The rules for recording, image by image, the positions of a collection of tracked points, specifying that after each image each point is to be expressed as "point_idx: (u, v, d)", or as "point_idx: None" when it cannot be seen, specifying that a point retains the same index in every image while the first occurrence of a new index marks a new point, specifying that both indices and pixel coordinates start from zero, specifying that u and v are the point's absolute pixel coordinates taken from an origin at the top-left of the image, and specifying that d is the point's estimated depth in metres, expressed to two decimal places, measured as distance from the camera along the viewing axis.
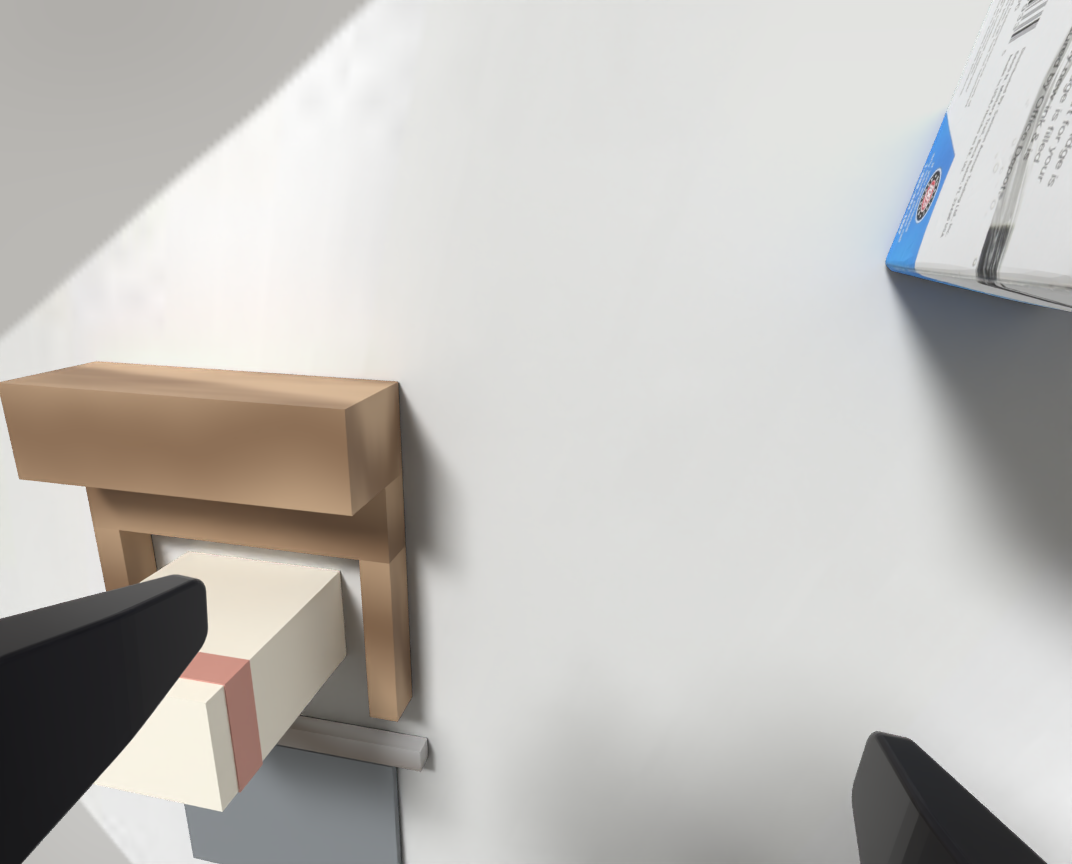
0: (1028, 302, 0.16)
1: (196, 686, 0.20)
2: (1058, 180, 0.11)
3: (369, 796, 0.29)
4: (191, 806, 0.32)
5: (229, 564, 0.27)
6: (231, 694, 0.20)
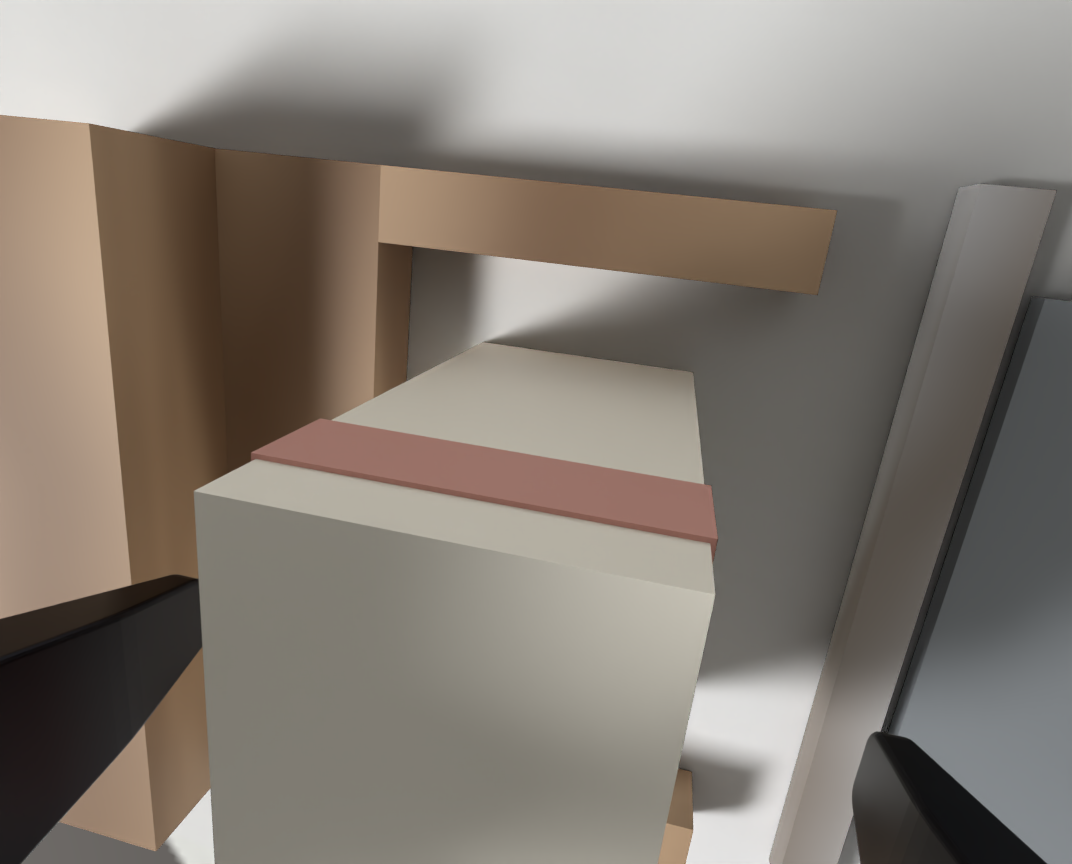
0: None
1: None
2: None
3: None
4: None
5: None
6: (328, 459, 0.06)
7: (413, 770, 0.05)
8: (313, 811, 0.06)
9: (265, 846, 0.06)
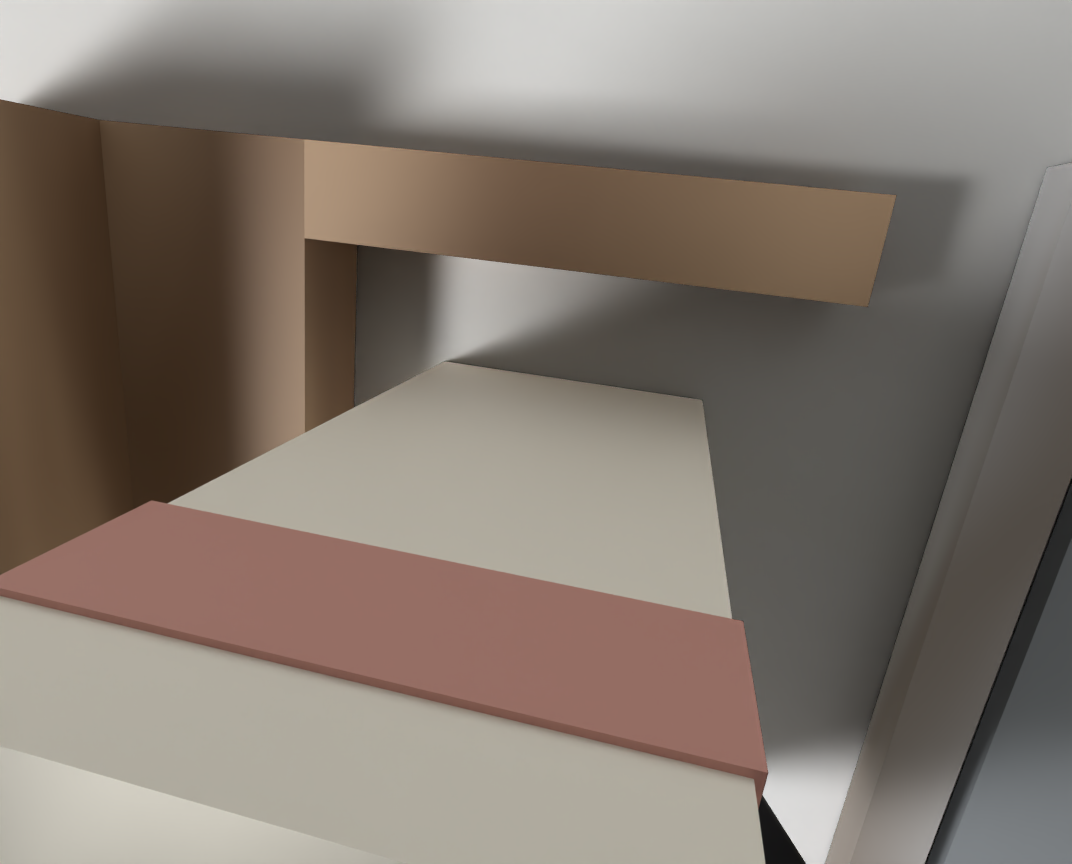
0: None
1: None
2: None
3: None
4: None
5: None
6: (122, 587, 0.04)
7: None
8: None
9: None
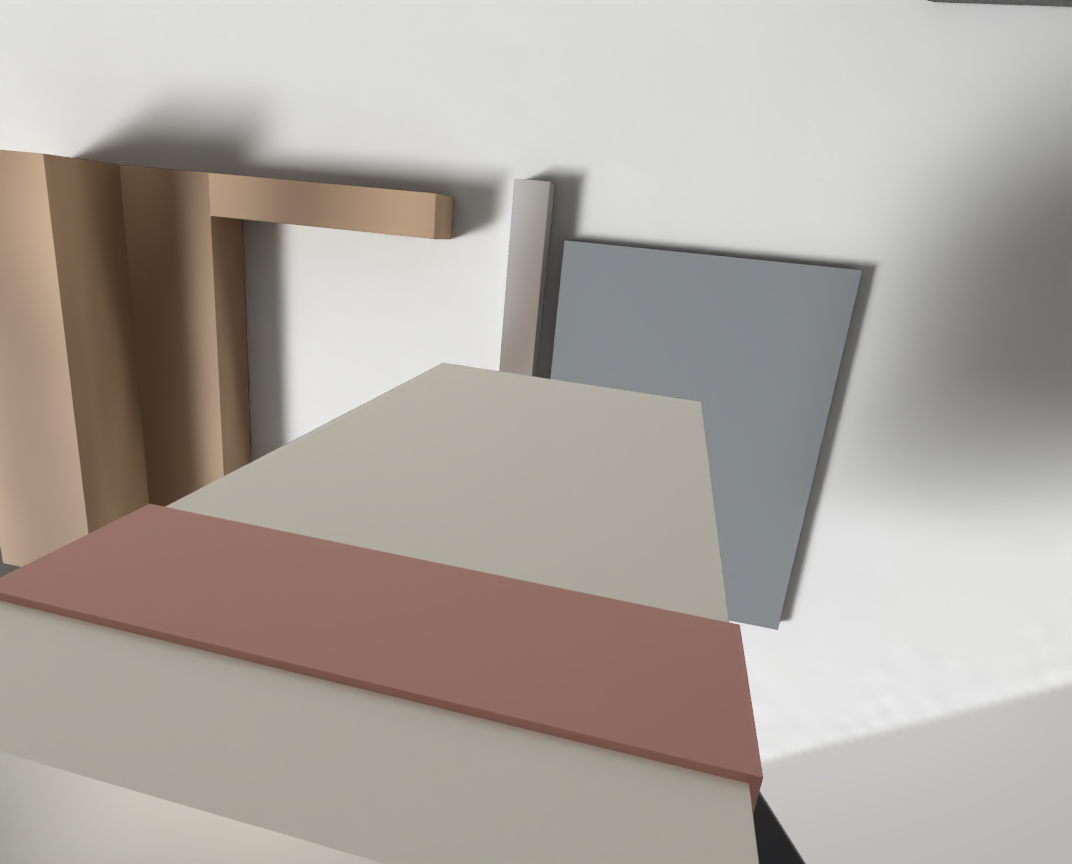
0: None
1: None
2: None
3: (623, 288, 0.19)
4: None
5: None
6: (120, 592, 0.04)
7: None
8: None
9: None
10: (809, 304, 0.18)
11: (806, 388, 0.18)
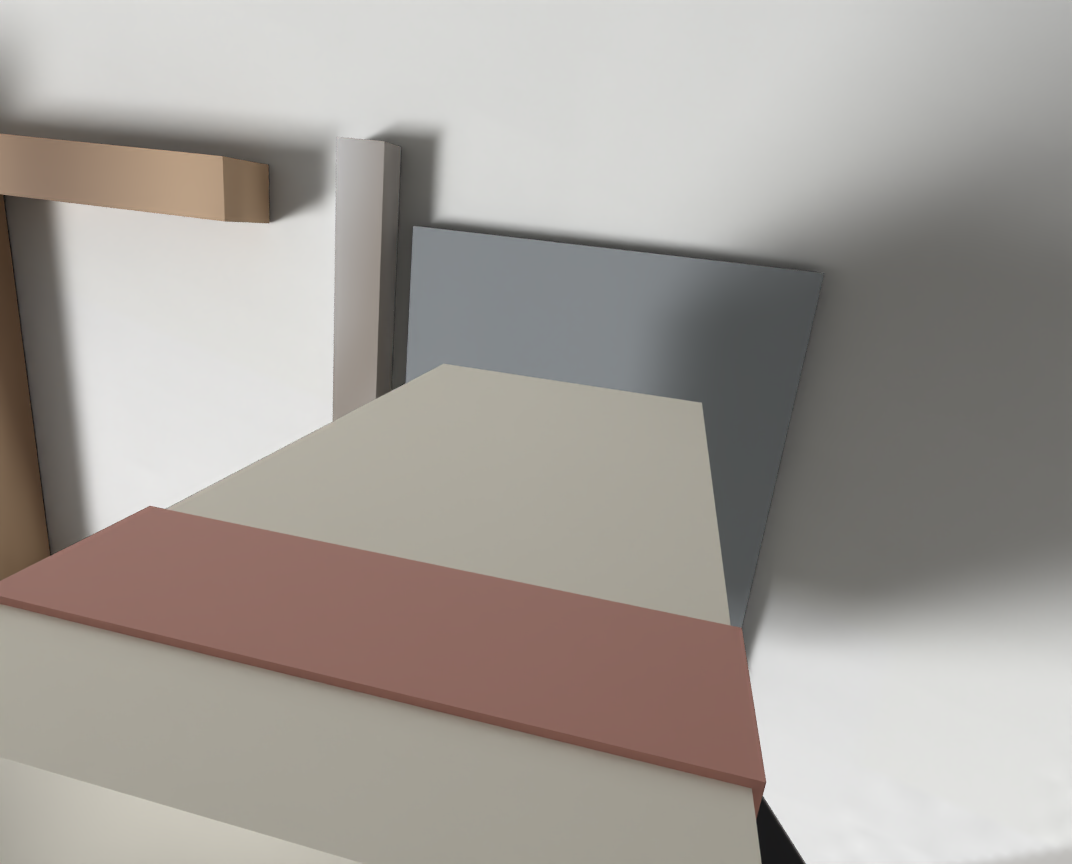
0: None
1: None
2: None
3: (495, 294, 0.13)
4: None
5: None
6: (121, 594, 0.04)
7: None
8: None
9: None
10: (750, 320, 0.12)
11: (747, 438, 0.13)
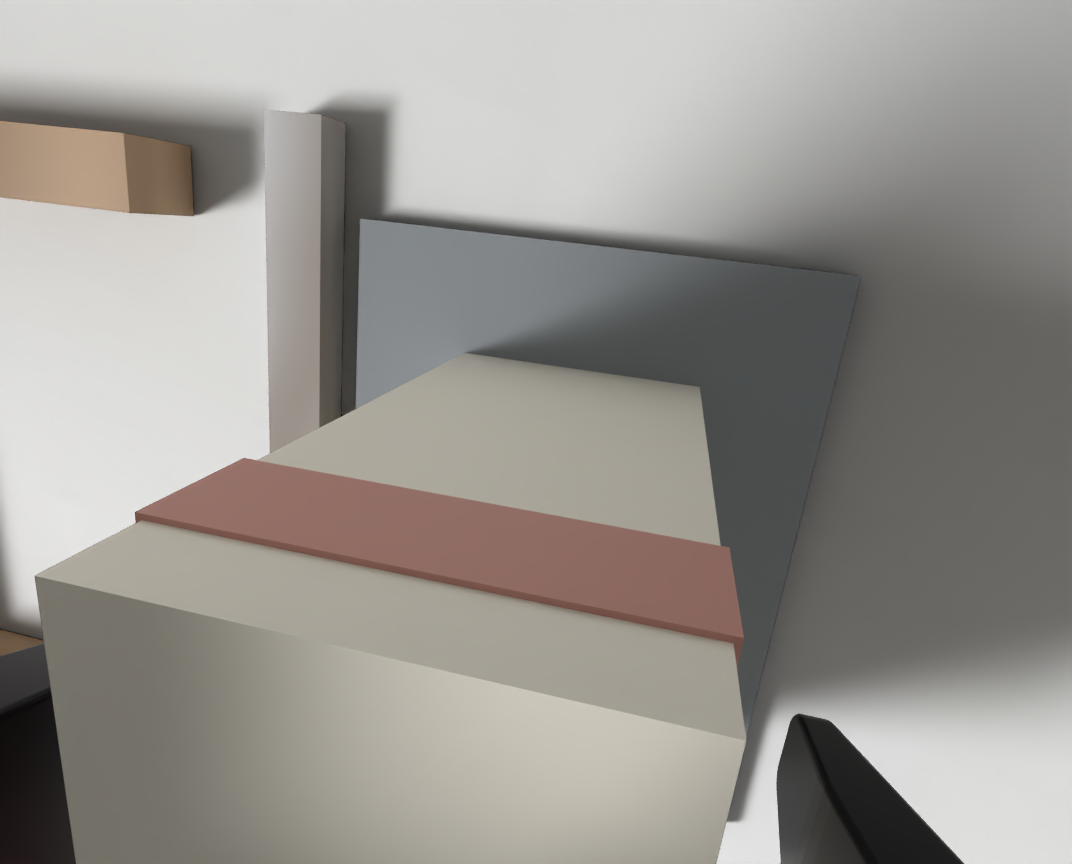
0: None
1: None
2: None
3: (459, 301, 0.11)
4: None
5: None
6: (239, 518, 0.05)
7: None
8: None
9: None
10: (768, 334, 0.10)
11: (763, 475, 0.11)
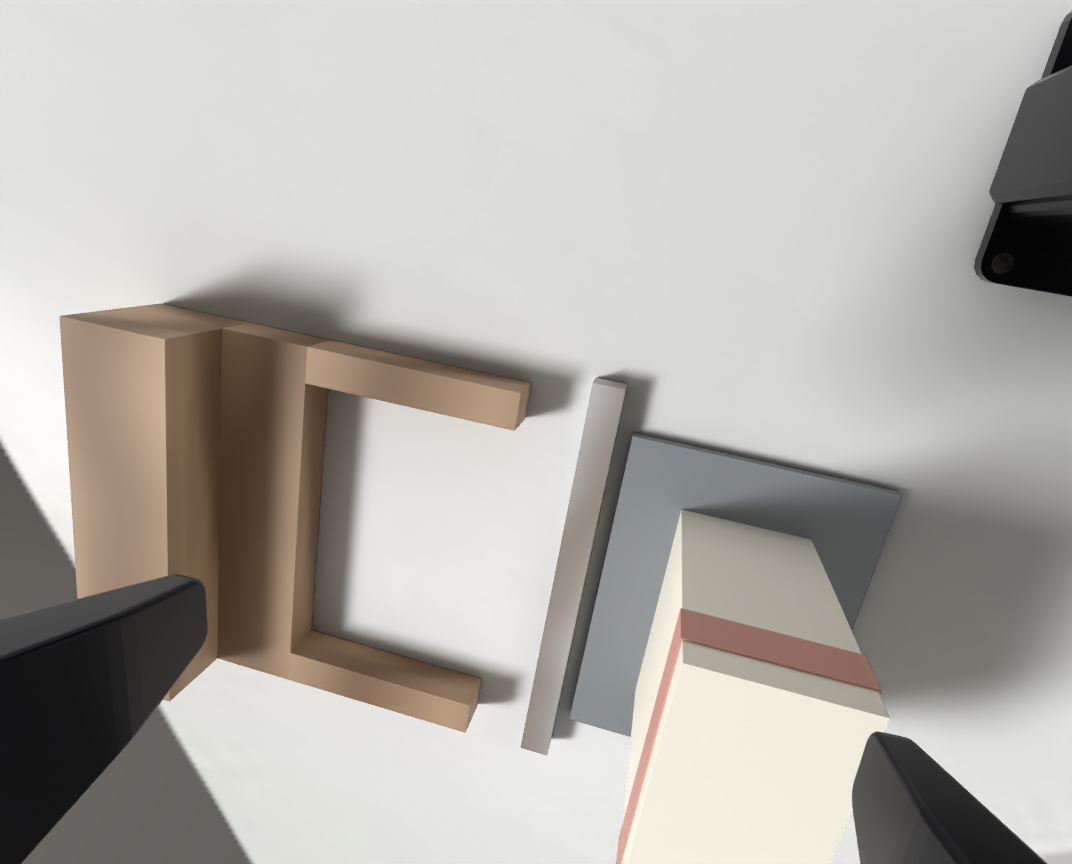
0: None
1: (674, 675, 0.14)
2: None
3: (683, 483, 0.20)
4: None
5: (649, 642, 0.22)
6: (707, 639, 0.14)
7: (752, 773, 0.14)
8: (699, 788, 0.14)
9: (671, 802, 0.14)
10: (851, 518, 0.20)
11: (841, 587, 0.20)
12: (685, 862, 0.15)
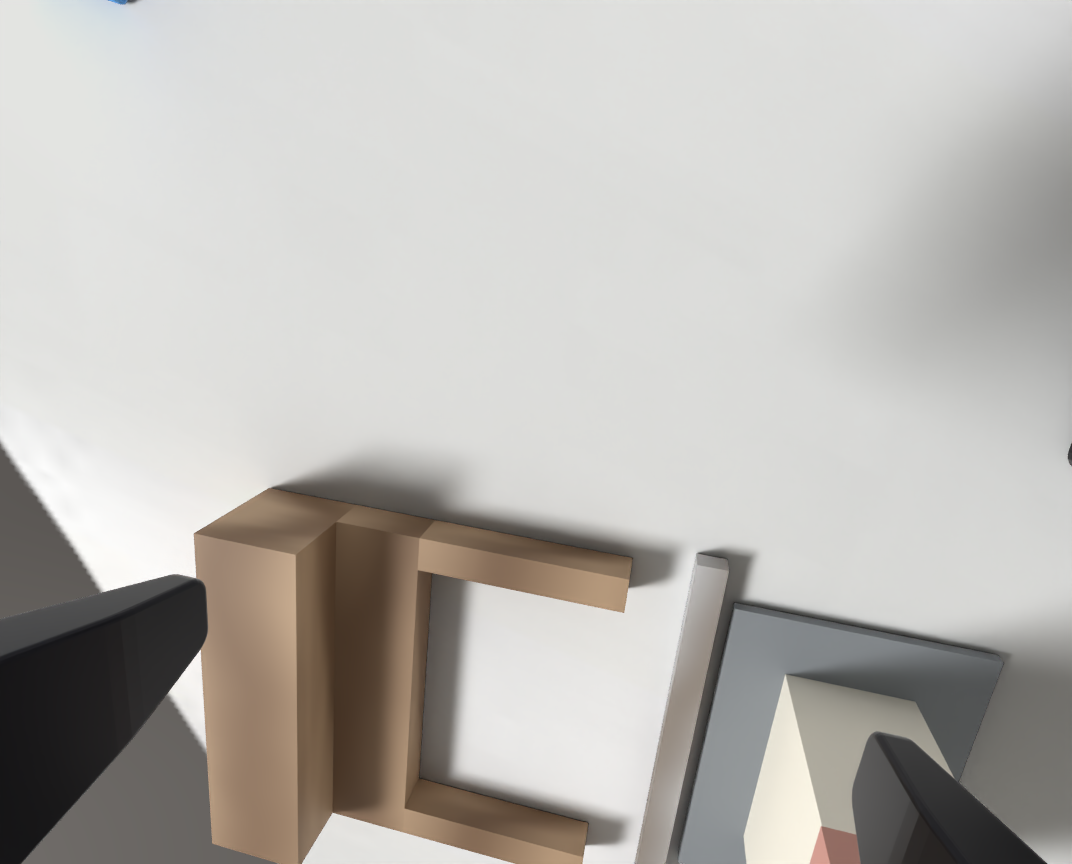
0: None
1: None
2: None
3: (786, 651, 0.21)
4: None
5: (758, 798, 0.22)
6: None
7: None
8: None
9: None
10: (954, 682, 0.20)
11: (946, 744, 0.21)
12: None
